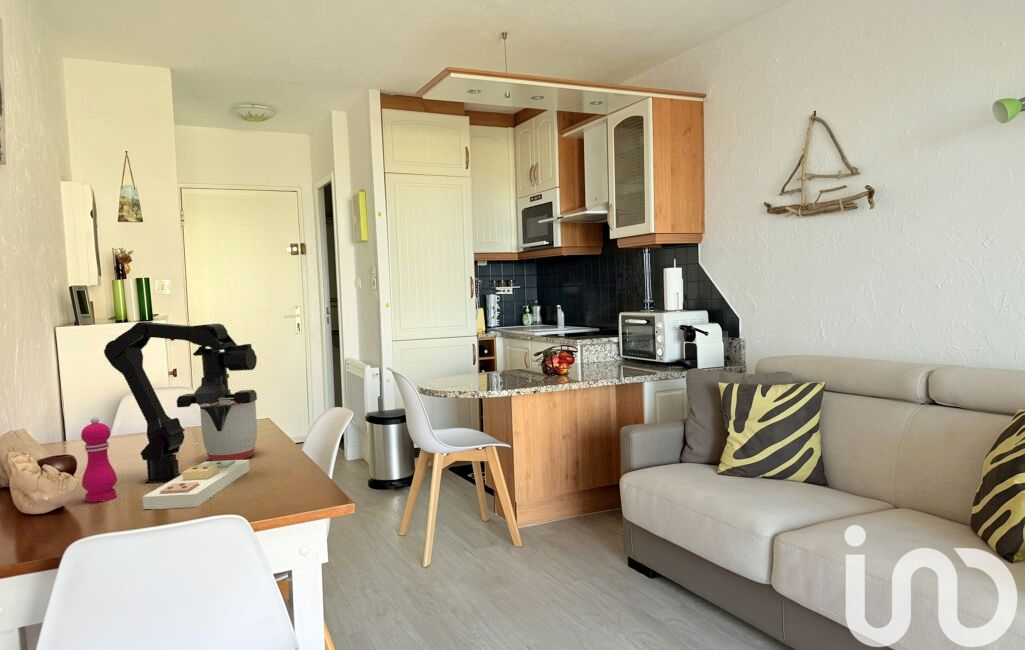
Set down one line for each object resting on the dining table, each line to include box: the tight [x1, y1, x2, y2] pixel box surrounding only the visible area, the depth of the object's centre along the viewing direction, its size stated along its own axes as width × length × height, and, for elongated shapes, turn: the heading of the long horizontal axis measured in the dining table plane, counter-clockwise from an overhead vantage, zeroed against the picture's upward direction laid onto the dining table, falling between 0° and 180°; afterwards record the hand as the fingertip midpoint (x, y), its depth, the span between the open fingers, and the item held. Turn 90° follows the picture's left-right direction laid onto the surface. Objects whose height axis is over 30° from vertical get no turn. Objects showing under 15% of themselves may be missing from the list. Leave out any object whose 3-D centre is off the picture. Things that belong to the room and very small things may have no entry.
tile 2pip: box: [181, 465, 218, 481], centre depth 171 cm, size 6×6×2 cm
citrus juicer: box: [198, 392, 258, 461], centre depth 204 cm, size 16×17×20 cm
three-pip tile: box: [160, 482, 199, 494], centre depth 160 cm, size 6×6×2 cm
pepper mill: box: [80, 416, 118, 503], centre depth 165 cm, size 7×7×20 cm
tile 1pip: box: [207, 460, 235, 468], centre depth 182 cm, size 6×6×2 cm
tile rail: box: [142, 459, 250, 510], centre depth 171 cm, size 12×32×3 cm, turn 1°
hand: (219, 431), depth 180 cm, fingers closed
